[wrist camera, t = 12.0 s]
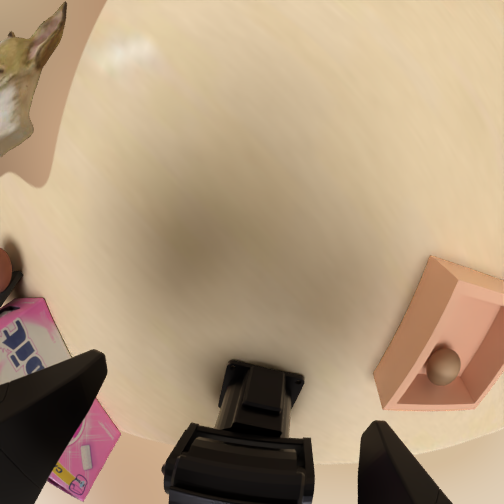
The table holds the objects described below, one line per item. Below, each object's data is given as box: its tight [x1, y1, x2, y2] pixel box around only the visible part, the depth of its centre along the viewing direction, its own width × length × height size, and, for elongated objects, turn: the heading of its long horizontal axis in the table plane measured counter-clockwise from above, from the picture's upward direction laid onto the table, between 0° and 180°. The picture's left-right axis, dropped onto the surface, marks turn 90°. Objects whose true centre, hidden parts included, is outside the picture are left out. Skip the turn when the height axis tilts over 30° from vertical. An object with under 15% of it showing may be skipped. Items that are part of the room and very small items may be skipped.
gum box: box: [0, 298, 121, 502], centre depth 21 cm, size 24×8×14 cm, turn 10°
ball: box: [426, 348, 461, 386], centre depth 18 cm, size 3×3×3 cm
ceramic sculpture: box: [0, 2, 67, 157], centre depth 13 cm, size 11×9×15 cm
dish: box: [373, 255, 504, 411], centre depth 17 cm, size 11×11×5 cm
